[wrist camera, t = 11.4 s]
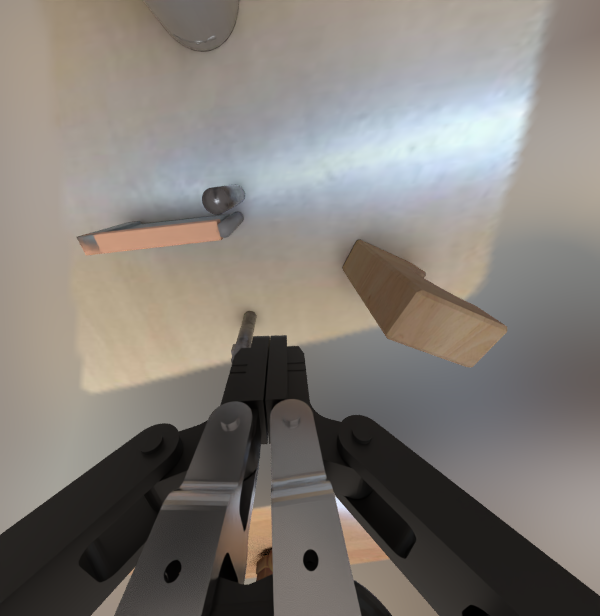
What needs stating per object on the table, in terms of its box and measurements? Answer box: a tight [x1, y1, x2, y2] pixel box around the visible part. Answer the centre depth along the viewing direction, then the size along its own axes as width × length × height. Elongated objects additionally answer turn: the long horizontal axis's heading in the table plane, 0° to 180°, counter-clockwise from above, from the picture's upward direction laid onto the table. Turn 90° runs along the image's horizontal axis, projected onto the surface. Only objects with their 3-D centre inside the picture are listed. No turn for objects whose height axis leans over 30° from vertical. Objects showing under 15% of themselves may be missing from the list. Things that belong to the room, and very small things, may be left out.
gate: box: [77, 212, 244, 255], centre depth 30 cm, size 16×2×9 cm, turn 96°
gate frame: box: [202, 185, 256, 362], centre depth 33 cm, size 22×3×12 cm, turn 0°
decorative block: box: [343, 240, 507, 367], centre depth 31 cm, size 11×6×20 cm, turn 65°
